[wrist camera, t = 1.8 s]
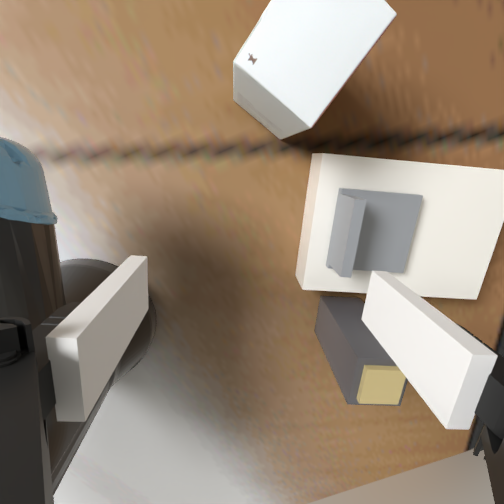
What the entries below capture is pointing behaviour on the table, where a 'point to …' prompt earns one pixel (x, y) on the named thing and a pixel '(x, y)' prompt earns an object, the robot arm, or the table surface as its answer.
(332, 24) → the small box
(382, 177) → the socket
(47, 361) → the robot arm
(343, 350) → the plug
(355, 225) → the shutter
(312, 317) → the table surface
